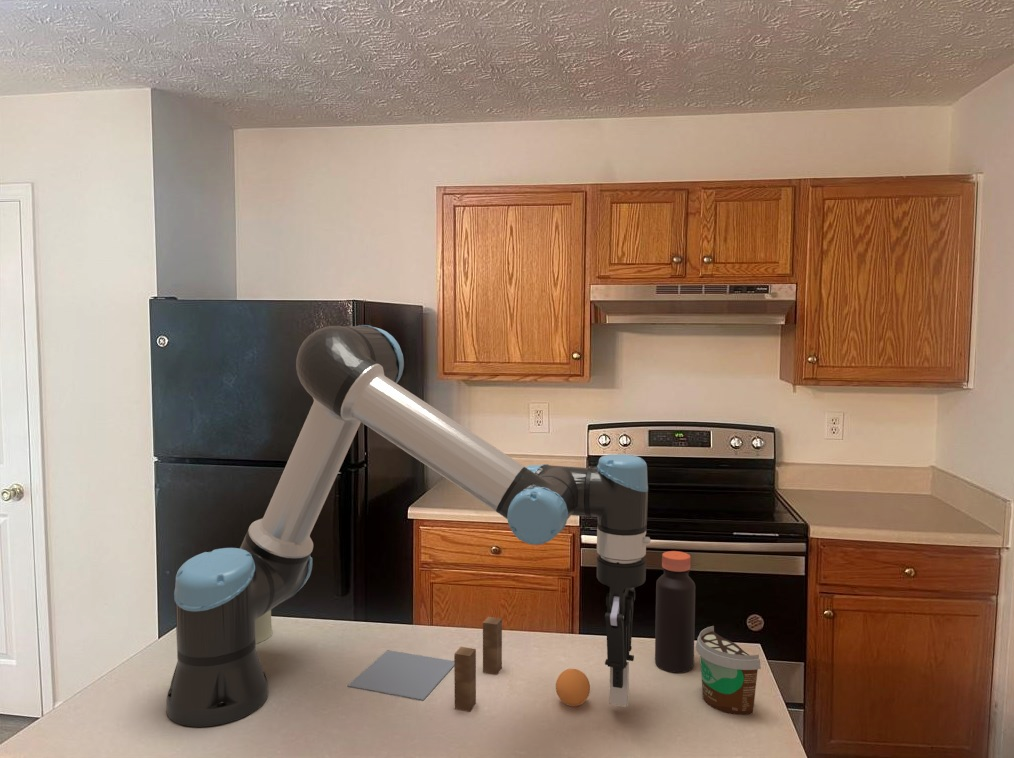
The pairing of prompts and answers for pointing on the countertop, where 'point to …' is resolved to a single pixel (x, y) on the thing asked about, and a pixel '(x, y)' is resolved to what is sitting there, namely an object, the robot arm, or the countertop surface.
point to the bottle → (675, 614)
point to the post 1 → (465, 678)
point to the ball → (572, 687)
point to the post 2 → (492, 645)
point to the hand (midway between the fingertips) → (618, 703)
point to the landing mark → (403, 675)
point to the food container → (727, 674)
